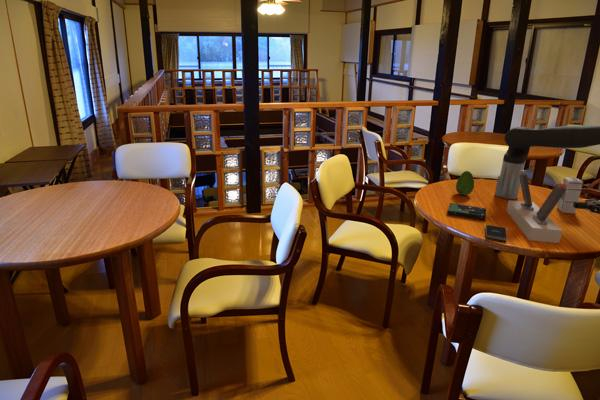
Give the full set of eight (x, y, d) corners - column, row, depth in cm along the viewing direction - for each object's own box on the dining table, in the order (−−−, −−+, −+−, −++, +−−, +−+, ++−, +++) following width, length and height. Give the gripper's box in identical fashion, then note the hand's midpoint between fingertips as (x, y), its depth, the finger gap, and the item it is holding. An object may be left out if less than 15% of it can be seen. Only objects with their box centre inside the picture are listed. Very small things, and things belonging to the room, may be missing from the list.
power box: (531, 213, 176) (534, 200, 174) (558, 243, 148) (563, 227, 146) (506, 211, 177) (509, 198, 175) (529, 240, 150) (532, 225, 148)
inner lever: (529, 201, 169) (523, 167, 165) (534, 206, 165) (527, 170, 161) (522, 203, 170) (516, 169, 166) (526, 207, 165) (520, 172, 162)
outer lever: (540, 217, 156) (565, 182, 150) (545, 222, 151) (570, 186, 146) (534, 214, 156) (557, 179, 150) (538, 219, 151) (563, 183, 146)
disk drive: (485, 214, 175) (448, 208, 180) (486, 208, 174) (449, 202, 179) (485, 222, 166) (447, 216, 171) (486, 216, 165) (448, 209, 170)
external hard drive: (504, 232, 157) (505, 227, 156) (506, 243, 147) (507, 238, 147) (485, 229, 159) (486, 224, 159) (485, 240, 150) (486, 235, 149)
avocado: (464, 198, 192) (468, 173, 188) (451, 193, 198) (455, 169, 194) (475, 196, 196) (480, 172, 192) (462, 191, 202) (466, 167, 198)
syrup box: (575, 213, 177) (584, 181, 172) (560, 212, 178) (569, 180, 173) (570, 209, 182) (578, 177, 177) (555, 207, 183) (563, 176, 178)
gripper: (620, 193, 152) (569, 189, 155) (641, 205, 139) (585, 201, 142) (614, 212, 154) (564, 208, 157) (634, 225, 142) (579, 221, 145)
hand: (574, 204), depth 150 cm, fingers closed
